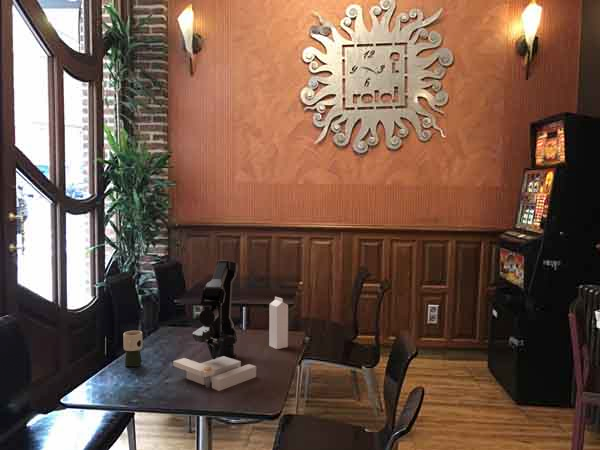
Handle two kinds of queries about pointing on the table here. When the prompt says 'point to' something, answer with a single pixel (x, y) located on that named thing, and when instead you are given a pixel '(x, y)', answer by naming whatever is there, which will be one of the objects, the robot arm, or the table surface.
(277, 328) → the milk
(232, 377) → the white block with cutout
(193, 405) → the table surface
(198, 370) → the cover
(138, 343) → the character mug
